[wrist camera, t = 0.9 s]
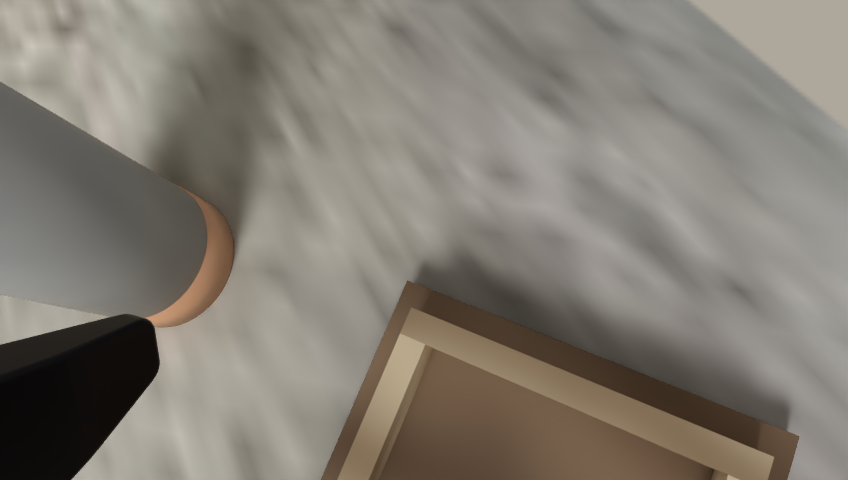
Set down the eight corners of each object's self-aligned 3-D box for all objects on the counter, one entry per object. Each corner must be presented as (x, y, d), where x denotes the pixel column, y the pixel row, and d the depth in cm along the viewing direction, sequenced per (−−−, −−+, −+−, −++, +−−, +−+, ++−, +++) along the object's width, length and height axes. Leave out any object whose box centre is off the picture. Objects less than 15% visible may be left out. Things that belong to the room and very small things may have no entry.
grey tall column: (193, 349, 24) (-168, 291, 12) (91, 297, 26) (-314, 202, 14) (256, 221, 25) (-17, 51, 13) (154, 181, 27) (-169, -3, 15)
